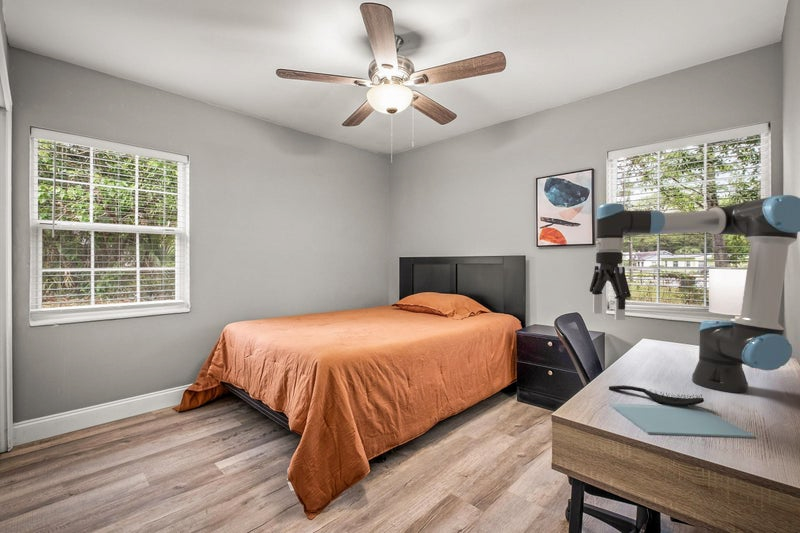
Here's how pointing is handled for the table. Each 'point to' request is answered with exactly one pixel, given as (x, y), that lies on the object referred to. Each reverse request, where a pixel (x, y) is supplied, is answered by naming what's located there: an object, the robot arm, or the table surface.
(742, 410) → the table surface
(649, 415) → the plate
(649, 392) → the hairbrush
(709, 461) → the table surface
